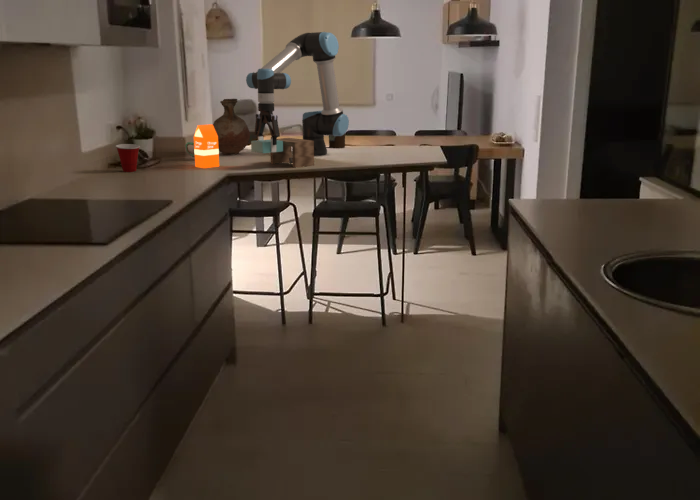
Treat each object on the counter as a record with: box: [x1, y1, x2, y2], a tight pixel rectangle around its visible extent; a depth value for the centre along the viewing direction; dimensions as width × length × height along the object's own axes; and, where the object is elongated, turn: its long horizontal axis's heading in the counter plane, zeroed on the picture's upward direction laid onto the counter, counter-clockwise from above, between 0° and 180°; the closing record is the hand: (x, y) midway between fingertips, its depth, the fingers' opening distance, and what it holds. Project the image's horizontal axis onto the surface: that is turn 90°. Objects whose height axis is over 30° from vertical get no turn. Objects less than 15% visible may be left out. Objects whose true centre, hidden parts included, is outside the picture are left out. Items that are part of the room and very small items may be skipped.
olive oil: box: [328, 104, 346, 149], centre depth 406 cm, size 11×11×25 cm
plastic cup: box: [115, 143, 141, 173], centre depth 315 cm, size 11×11×12 cm
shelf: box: [269, 137, 315, 168], centre depth 336 cm, size 12×19×12 cm, turn 44°
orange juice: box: [193, 123, 220, 169], centre depth 328 cm, size 8×9×20 cm
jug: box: [213, 98, 251, 156], centre depth 373 cm, size 22×22×30 cm
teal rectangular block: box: [250, 138, 283, 154], centre depth 325 cm, size 12×9×5 cm
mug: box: [184, 141, 195, 159], centre depth 352 cm, size 15×10×10 cm
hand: (267, 151), depth 326 cm, fingers closed on teal rectangular block, 9 cm apart
